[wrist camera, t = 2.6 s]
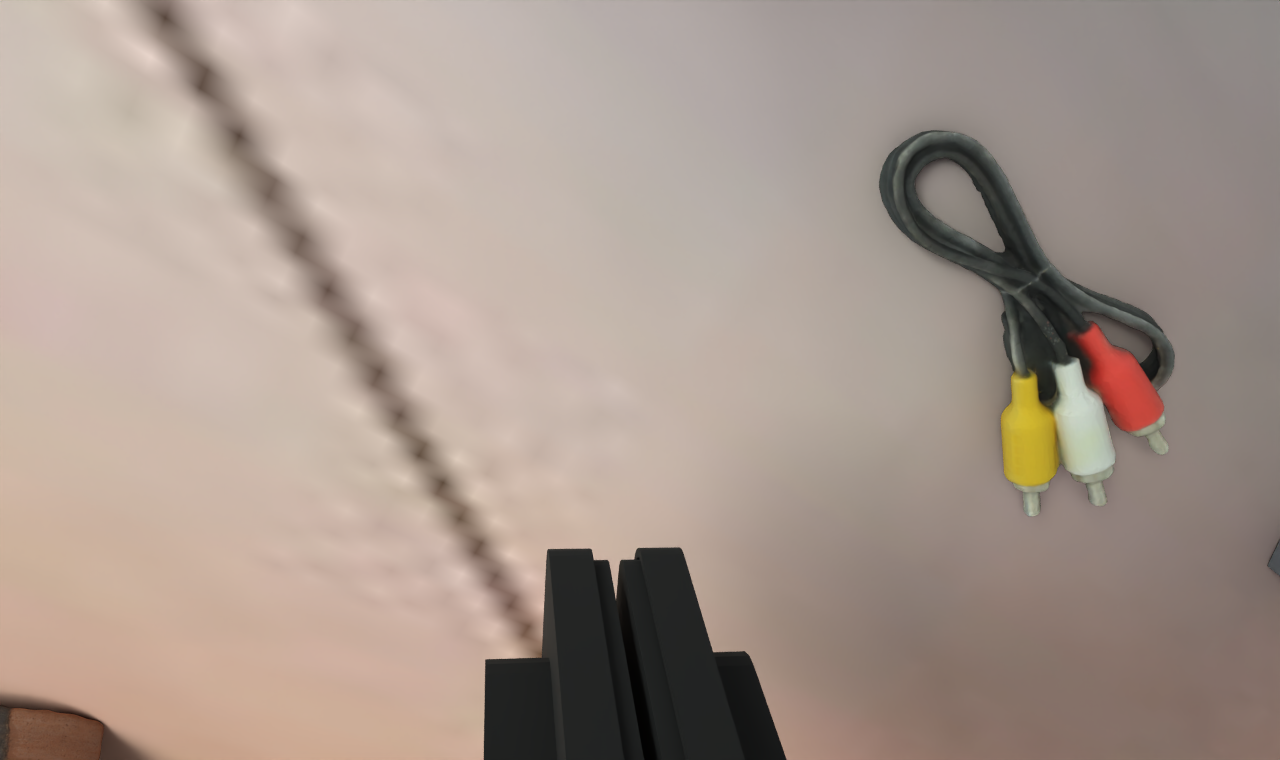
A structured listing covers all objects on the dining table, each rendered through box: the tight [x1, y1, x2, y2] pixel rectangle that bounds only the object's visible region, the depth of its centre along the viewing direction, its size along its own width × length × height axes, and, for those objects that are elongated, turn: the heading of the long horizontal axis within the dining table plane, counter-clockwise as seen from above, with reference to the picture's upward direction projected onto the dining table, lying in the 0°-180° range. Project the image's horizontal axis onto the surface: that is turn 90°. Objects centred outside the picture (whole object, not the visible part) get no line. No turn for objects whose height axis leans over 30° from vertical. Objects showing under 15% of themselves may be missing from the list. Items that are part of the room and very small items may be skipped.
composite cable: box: [879, 131, 1175, 517], centre depth 20 cm, size 10×5×2 cm, turn 30°
